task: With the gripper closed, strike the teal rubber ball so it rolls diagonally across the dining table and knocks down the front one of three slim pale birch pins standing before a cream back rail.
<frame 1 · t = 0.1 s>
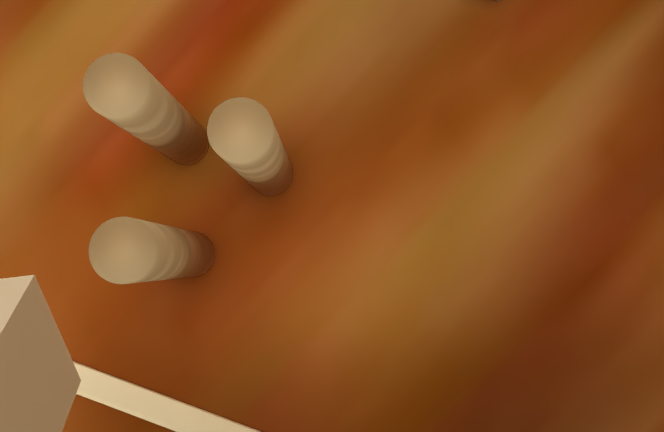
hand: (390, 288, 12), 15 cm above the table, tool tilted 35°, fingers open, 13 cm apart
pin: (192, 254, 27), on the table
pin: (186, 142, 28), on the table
foul line: (135, 399, 27), on the table
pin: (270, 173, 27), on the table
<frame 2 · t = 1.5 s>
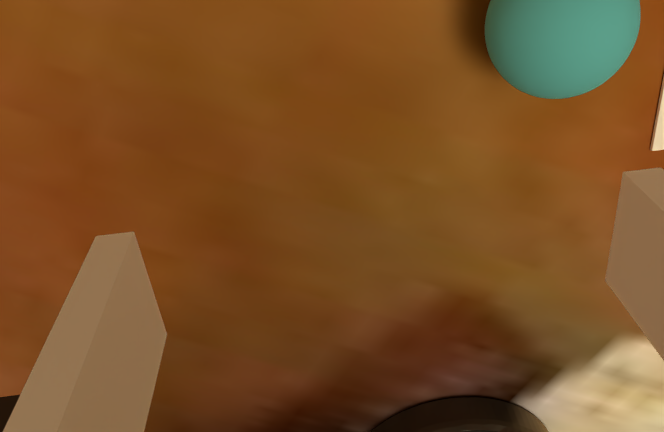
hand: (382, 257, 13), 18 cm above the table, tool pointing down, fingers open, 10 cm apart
ball: (559, 24, 25), on the table
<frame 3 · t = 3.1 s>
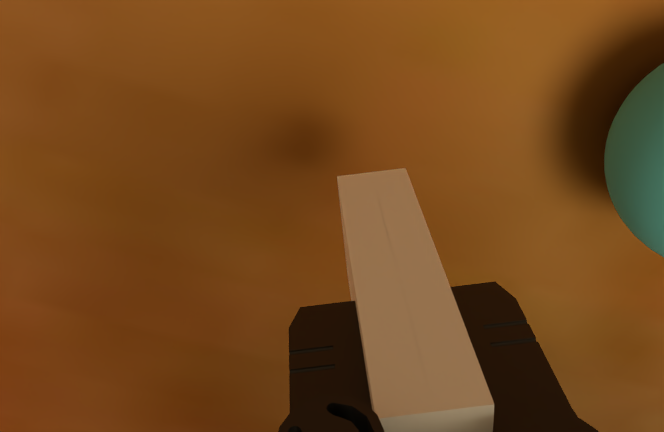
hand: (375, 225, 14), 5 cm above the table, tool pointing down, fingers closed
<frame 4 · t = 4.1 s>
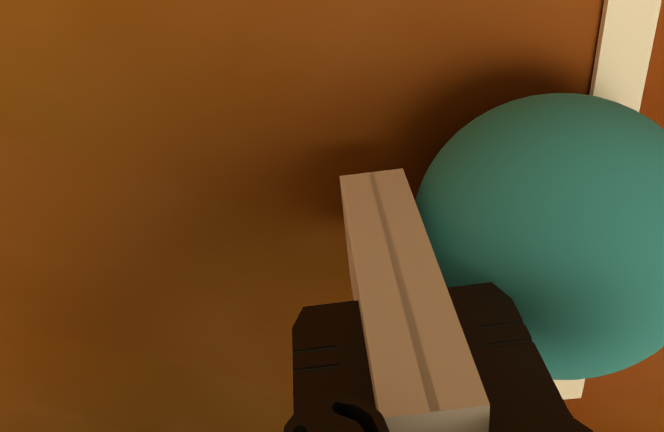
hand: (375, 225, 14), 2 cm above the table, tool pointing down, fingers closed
ball: (551, 235, 13), on the table, touching gripper
foul line: (599, 177, 16), on the table
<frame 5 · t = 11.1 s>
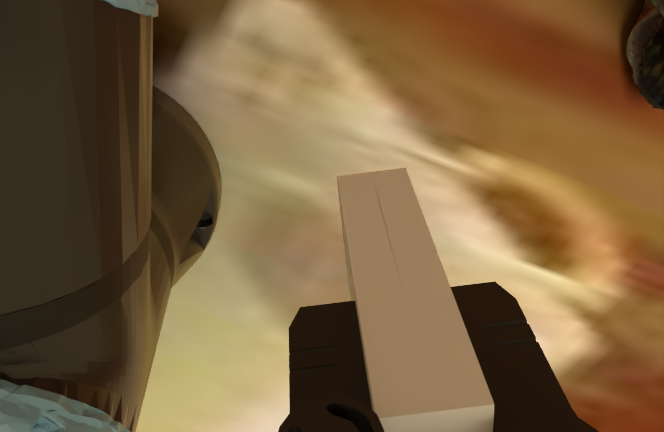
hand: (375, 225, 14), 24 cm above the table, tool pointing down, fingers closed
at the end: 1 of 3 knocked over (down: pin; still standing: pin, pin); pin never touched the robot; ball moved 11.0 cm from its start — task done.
